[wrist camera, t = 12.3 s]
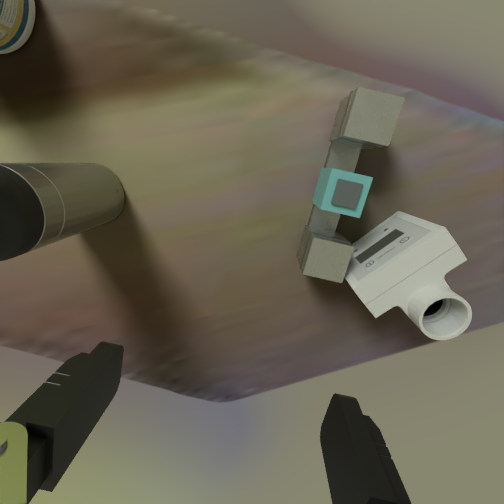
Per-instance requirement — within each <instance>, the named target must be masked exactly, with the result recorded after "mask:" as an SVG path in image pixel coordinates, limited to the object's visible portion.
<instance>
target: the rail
mask: <svg viewBox="0 0 504 504" xmlns="http://www.w3.org/2000/svg"><path fill="white" fill-rule="evenodd" d="M404 100H405V98H403V97H399V96H395V95H391V94H386V93H382V92H378V91H374V90H370V89H366V88H362V87H357V88H356V89H355V90H354V91H352V92H350V94H349V95H348V96H347V97H345V98H344V99H343V100H342V101H341V102H340V104H339V108H338V111H337V115H336V118H335V122H334V125H333V129H332V132H331V136H330V140H329V141H331V145H330V148H329V152H328V155H327V159H326V162H325V166H324V168H334V169H339V170H343V171H347V172H352V173H354V171H355V167H356V164H357V161H358V158H359V155H360V152H361V149H364V150H367V149H374V148H382V147H388V146H389V144H390V141H391V138H392V135H393V132H394V130H395V127H396V124H397V121H398V118H399V115H400V112H401V109H402V106H403V103H404ZM340 215H341V214H339V213H335V212H330V211H326V210H322V209H320V208H318V207H317V206H316V205H315V204H313V208H312V211H311V215H310V218H309V222H308V225H305V228H304V231H303V235H302V238H301V242H300V245H299V249H298V253H297V259H298V262H299V264H300V269H301V270H302V273H303V274H304V275H308V276H312V277H317V278H321V279H325V280H330V281H334V282H339V283H342V282H343V279H344V276H345V273H346V270H347V267H348V264H349V261H350V259H351V256H352V253H353V250H354V246H353V245H352V244H351V242H350V241H348V240H347V239H346V238H344V237H343V236H342V235H341V234H340V233H339V232H335V231H336V228H337V224H338V221H339V218H340Z"/></svg>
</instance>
